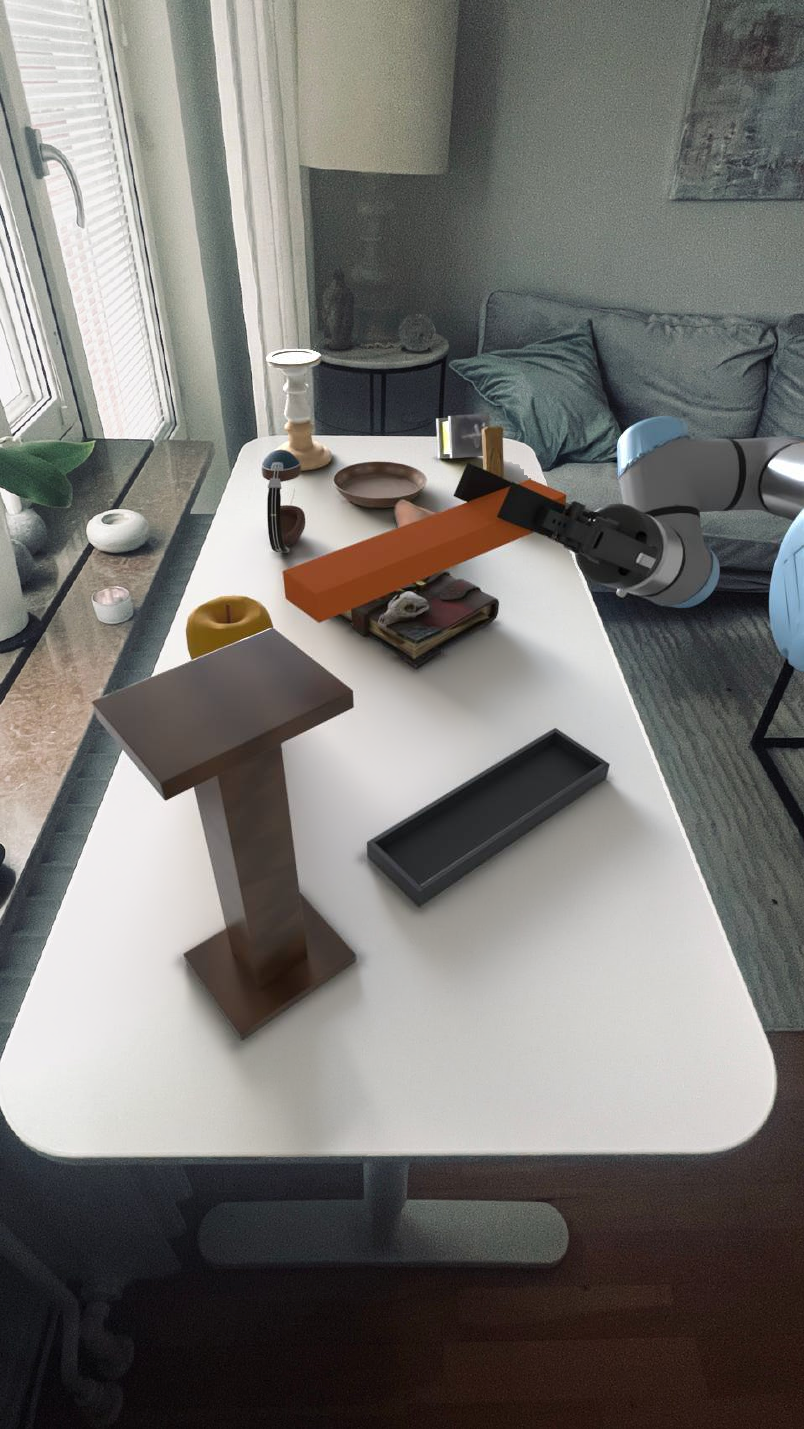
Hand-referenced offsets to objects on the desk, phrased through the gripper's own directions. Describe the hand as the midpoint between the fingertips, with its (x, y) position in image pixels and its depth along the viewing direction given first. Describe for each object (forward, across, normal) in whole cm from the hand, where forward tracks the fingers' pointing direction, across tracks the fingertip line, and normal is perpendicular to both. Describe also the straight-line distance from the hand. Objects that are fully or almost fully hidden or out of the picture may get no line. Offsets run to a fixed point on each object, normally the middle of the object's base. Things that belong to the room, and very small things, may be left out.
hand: (485, 490), depth 59 cm
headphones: (-40, +69, -22) cm, 83 cm away
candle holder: (-59, +97, -11) cm, 114 cm away
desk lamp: (-75, +65, -1) cm, 100 cm away
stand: (+1, 0, -45) cm, 45 cm away
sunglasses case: (-55, +54, -13) cm, 78 cm away
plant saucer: (-61, +73, -10) cm, 96 cm away
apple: (-15, +37, -36) cm, 54 cm away
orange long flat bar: (+2, 0, -6) cm, 6 cm away
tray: (-23, 0, -31) cm, 39 cm away
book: (-40, +38, -22) cm, 59 cm away
